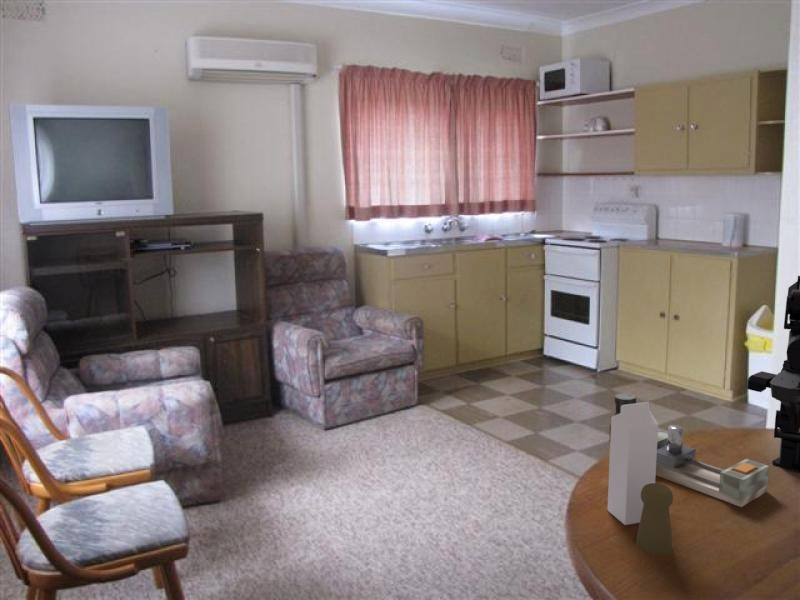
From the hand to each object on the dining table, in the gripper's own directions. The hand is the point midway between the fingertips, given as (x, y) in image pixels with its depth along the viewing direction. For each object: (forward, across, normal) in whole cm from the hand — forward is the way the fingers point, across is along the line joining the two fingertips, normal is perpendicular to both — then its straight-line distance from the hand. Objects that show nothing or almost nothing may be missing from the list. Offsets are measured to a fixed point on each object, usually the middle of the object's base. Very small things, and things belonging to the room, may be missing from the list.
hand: (796, 432), depth 143 cm
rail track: (+12, -14, -10) cm, 21 cm away
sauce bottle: (+12, -21, -26) cm, 36 cm away
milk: (+12, -14, -34) cm, 39 cm away
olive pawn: (+12, -5, -40) cm, 42 cm away
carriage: (+9, -20, -10) cm, 24 cm away
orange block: (+9, -5, -10) cm, 14 cm away
